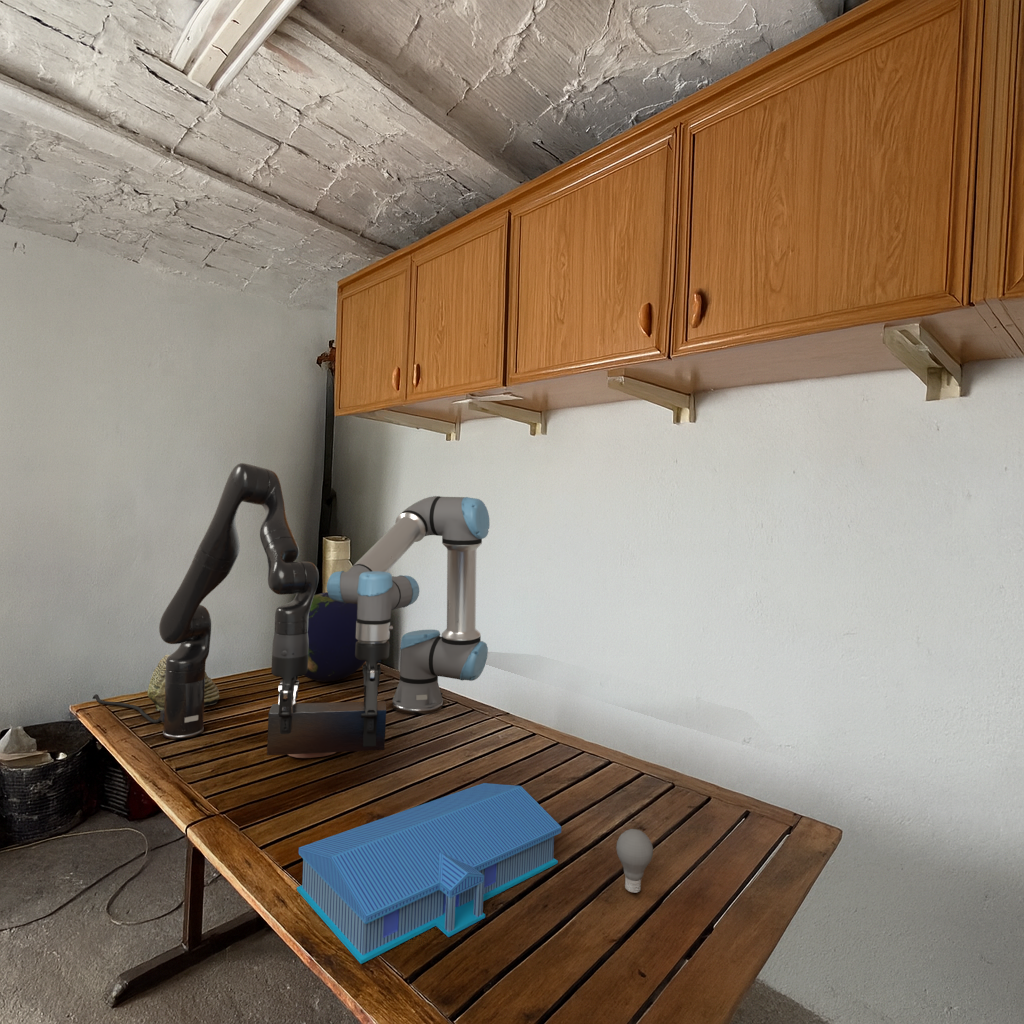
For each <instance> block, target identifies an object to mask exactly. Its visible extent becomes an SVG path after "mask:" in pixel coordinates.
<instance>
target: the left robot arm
mask: <svg viewBox="0 0 1024 1024" xmlns="http://www.w3.org/2000/svg"><path fill="white" fill-rule="evenodd" d="M243 502H244V503H248V504H251V505H252V504H253V505H256V506H257V505H258V506H261V507H262V508H263V509H264V511H265V513H266V515H265V516H264V519H263V521H262V523H261V525H260V528H259V538H260V543H261V545H262V548H263V551H264V553H265V556H266V561H267V585H268V588H269V589H270V590H271V592H272V593H274V594H276V595H280V596H281V595H295V597H294V598H293V600H292V601H290V602H287V603H284V604H281V605H279V606H277V607H276V609H275V611H274V629H273V632H274V633H273V639H272V649H271V651H272V652H271V671H270V673H271V674H272V675H273V676H274V677H277V678H281V679H282V680H280V681H279V683H278V703H277V704H279V713H278V715H279V717H281V719H280V733H281V734H290V733H291V721H292V715H293V712H292V710H293V706H294V705H295V704H297V699H298V695H299V687H300V680H299V679H298V678H299V677H303V676H304V674H306V673H307V670H308V647H309V639H308V619H309V611H310V607H311V604H312V600H313V597H314V595H316V591H317V588H318V584H319V580H320V575H319V569H318V567H317V566H316V565H315V564H314V563H313V562H312V561H304V560H303V561H297V559H298V557H299V555H300V548H299V545H298V543H297V539H296V538H295V536H294V533H293V531H292V529H291V527H290V523H289V520H288V516H287V511H286V510H287V509H286V505H285V499H284V495H283V490H282V485H281V482H280V478H279V477H278V475H277V473H276V472H275V471H273V470H271V469H268V468H265V467H260V466H257V465H253V464H249V463H246V462H245V463H244V462H241V463H237V464H236V465H234V467H233V468H232V470H231V471H230V473H229V475H228V477H227V479H226V482H225V485H224V487H223V490H222V493H221V495H220V498H219V501H218V503H217V507H216V509H215V512H214V514H213V517H212V518H211V521H210V524H209V526H208V528H207V529H206V532H205V534H204V536H203V538H202V540H201V542H200V543H199V546H198V548H197V550H196V552H195V554H194V556H193V559H192V561H191V563H190V566H189V567H188V569H187V571H186V573H185V575H184V577H183V579H182V581H181V583H180V585H179V587H178V589H177V590H176V592H175V594H174V595H173V597H172V598H171V600H170V602H169V603H168V605H167V606H166V607H165V610H164V611H163V613H162V615H161V618H160V621H159V625H158V632H159V636H160V638H161V640H162V641H163V642H164V643H166V644H169V645H179V646H178V648H177V649H176V650H175V651H174V652H173V653H170V654H169V655H170V656H169V657H168V658H167V660H166V674H165V705H164V710H162V711H160V712H159V713H160V714H159V715H160V716H159V718H158V719H154V718H152V717H150V716H149V715H148V714H147V713H146V712H145V711H144V710H143V708H141V707H139V706H137V705H133V704H129V703H124V702H119V701H118V702H117V701H107V700H102V699H101V698H100V696H99V694H94V695H93V696H92V700H96V702H97V703H98V704H101V705H106V706H107V705H108V706H117V707H124V708H128V709H129V708H130V709H133V710H136V711H137V712H139V713H140V715H141V716H142V717H143V718H145V719H146V720H147V721H148V722H149V723H153V724H158V723H161V722H162V723H163V730H162V737H164V738H166V739H169V740H185V739H190V738H191V739H192V738H194V737H197V736H199V735H202V734H203V732H204V730H205V729H204V726H205V725H204V722H205V721H204V718H205V706H204V693H205V672H206V664H207V663H206V662H207V659H208V657H209V653H210V647H211V636H212V617H211V614H210V612H209V610H208V609H207V608H206V606H205V605H202V604H201V603H202V602H203V601H204V600H205V598H207V596H208V595H210V593H212V592H213V591H214V590H215V589H216V588H217V587H218V586H219V585H220V584H221V583H222V582H224V580H226V578H227V577H228V576H229V574H231V573H230V572H231V571H232V570H233V567H234V565H235V564H236V561H237V559H238V557H239V555H240V551H241V544H240V543H241V542H240V537H239V534H238V529H237V525H236V524H237V523H236V522H237V521H236V518H237V514H238V510H239V508H240V505H242V503H243ZM286 706H288V707H289V711H283V707H286Z"/></svg>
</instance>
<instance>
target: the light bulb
mask: <svg viewBox="0 0 1024 1024" xmlns="http://www.w3.org/2000/svg"><path fill="white" fill-rule="evenodd" d="M615 849H616V854H617V857H618V859H619V861H620V863H621V865H622V867H623V873H624V874H623V875H624V876H625V878H624V888H625V890H627V891H628V892H630V893H634V894H635V893H639V892H640V891H641V889H642V887H641V886H642V879H643V877H644V875H645V871H646V868H647V867H648V866H649V864H650V863H651V861H652V859H653V855H654V847H653V843H652V841H651V838H649V836H648V835H647V834H646V833H645V832H643V831H642V830H641V829H636V828H629V829H627V830H625V831H623V832H622V833H621V834H620V835H619V837H618V839H617V841H616V847H615Z"/></svg>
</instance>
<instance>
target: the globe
mask: <svg viewBox="0 0 1024 1024" xmlns="http://www.w3.org/2000/svg"><path fill="white" fill-rule="evenodd" d="M356 621H357V604H353V603H343V602H339V601H334V600H332V599H331V598H330V597H329V595H328V592H327V591H326V592H321V593H317V594H314V597H313V600H312V604H311V607H310V611H309V619H308V639H309V647H308V670H307V673H306V674H304V675H303V677H306V678H308V679H311V680H312V681H316V682H323V683H328V682H336V681H340V680H344V679H346V678H347V677H350V676H351V675H354V673H356V672H357V671H359V670H360V669H361V668H362V667H363V665H365V664H366V661H365V660H359V659H357V658H356V657H355V648H356V642H357V641H358V640H357V639H356Z"/></svg>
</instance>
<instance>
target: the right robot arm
mask: <svg viewBox="0 0 1024 1024" xmlns="http://www.w3.org/2000/svg"><path fill="white" fill-rule="evenodd" d="M489 529H490V515H489V510H488V508H487V506H486V504H485V503H484V501H482V500H481V499H480V498H474V497H468V496H440V495H438V496H437V495H433V496H428V497H425V498H423V499H421V500H418V501H416V502H414V503H412V504H411V505H409V506H408V507H407V508H406V509H404V510H403V511H402V512H400V513H399V514H398V515H397V517H396V518H395V521H394V525H393V526H392V527H390V529H388V530H387V532H385V534H384V535H382V536H381V537H380V538H379V539H378V540H377V541H376V542H375V544H373V545H372V546H371V547H370V548H369V549H368V550H367V551H366V552H365V553H364V554H363V555H362V556H361V557H360V558H359V559H358V560H357V561H356V562H355V563H354V564H353V565H352V566H351V567H350V568H349V569H348V570H347V571H345V570H341V571H340V570H339V571H334V572H332V573H331V574H330V575H329V578H328V579H327V583H326V592H328V595H329V597H330V598H331V599H332V600H334V601H339V602H343V603H353V604H357V621H356V639H357V640H358V641H357V642H356V648H355V657H356V658H357V659H359V660H365V661H366V662H365V664H363V665H362V676H363V690H364V692H363V702H365V713H364V714H361V718H363V717H364V732H363V747H367V746H376V727H377V715H378V713H377V701H378V697H379V690H378V689H379V686H380V677H381V673H382V667H381V664H379V663H378V662H379V661H384V660H387V659H388V658H389V657H390V645H391V644H390V641H389V640H390V637H391V632H390V631H392V630H394V627H393V625H391V619H392V618H391V616H392V611H393V610H397V609H398V610H399V609H402V608H406V607H409V606H411V605H413V604H414V603H415V602H417V600H418V598H419V596H420V586H419V583H418V582H417V581H418V580H416V579H415V578H414V577H412V576H410V575H402V574H399V575H397V576H392V573H391V572H389V571H390V570H391V569H392V568H393V566H394V565H395V564H396V563H397V562H398V561H399V560H400V559H401V558H402V556H403V555H404V554H405V553H406V552H407V551H409V549H410V548H411V547H412V546H413V544H415V543H417V542H420V541H422V540H423V539H424V538H425V537H427V536H437V537H438V536H439V537H441V544H442V545H443V547H445V548H446V549H447V550H446V551H447V554H446V628H445V630H444V631H442V632H441V631H440V630H437V629H420V630H419V629H418V630H412V631H409V632H406V633H404V634H403V635H402V636H401V639H400V640H401V641H400V648H399V650H400V651H399V654H400V656H399V679H398V680H399V681H398V684H397V687H396V690H395V693H394V695H393V697H392V705H391V706H392V709H393V710H394V711H395V712H398V713H401V714H406V715H415V716H416V715H417V716H418V715H428V714H433V713H437V712H439V711H441V710H442V709H443V705H444V699H443V694H444V693H443V692H441V688H440V684H439V677H441V678H449V679H455V680H460V681H471V682H472V681H476V680H478V678H480V676H481V674H482V673H483V672H484V669H485V666H486V663H487V659H488V653H489V647H488V643H486V642H485V641H483V640H481V639H482V638H481V634H482V633H481V632H480V631H479V630H478V629H477V627H476V626H477V553H478V552H477V550H478V549H479V547H480V546H481V545H482V543H483V541H482V540H483V539H486V538H487V537H488V535H489ZM369 710H374V711H369Z"/></svg>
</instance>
